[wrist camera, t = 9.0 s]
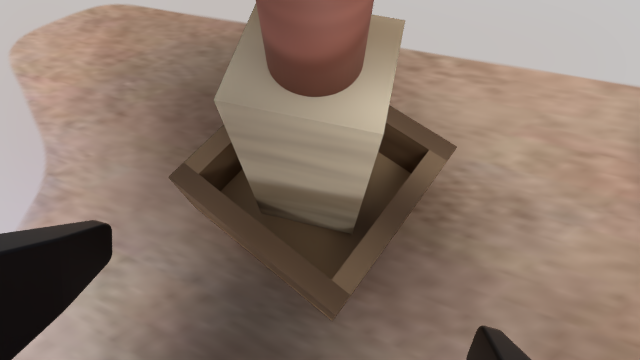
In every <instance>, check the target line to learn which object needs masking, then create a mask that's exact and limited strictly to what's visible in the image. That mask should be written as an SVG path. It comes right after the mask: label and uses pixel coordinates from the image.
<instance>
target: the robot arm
mask: <svg viewBox="0 0 640 360" xmlns="http://www.w3.org/2000/svg"><path fill="white" fill-rule="evenodd" d="M111 256H112V229H111V226H110V225H109V224H107V223H103V222H99V221H96V220H91V221H84V222H77V223H70V224H64V225H57V226H50V227H43V228H36V229H30V230H23V231H16V232H9V233H2V234H0V360H12V359H13V358H14V357H15V356H16V355H17V354H18V353H19V352H20V351H21V350H23V349H24V348H25V347H26V346H27V345H28V344H29V343H30V342H31V341H32V340H33V339H34V338H36V337H37V336H38V335H39V334H40V333H41V332H42V331H43V330H44V329H45V328H46V327H47V326H49V325H50V324H51V323H52V322H53V321H54V320H55V319H56V318H57V317H58V316H59V315H60V314H61V313H62V312H63V311H64V310H65V309H66V308H67V307H68V306H69V305H70V304H71V303H72V302H73V301H74V300H75V299H76V298H77V297H78V295H79V294H80V293H81V292H82V291H83V290H84V289H85V288H86V287H87V286H88V284H89V283H90V282H91V281H92V280H93V279H94V278H95V277H96V276H97V275H98V274H99V272H100V271H101V270H102V269H103V268H104V267H105V266H106V265H107V264H108V262H109V261H110V259H111ZM467 360H531V359H530V358H529V357H528V356H527V355H526V354H525V353H524V352H523V351H522V350H521V349H520V348H518V347H517V346H516V345H515V344H514V343H513V342H512V341H511V340H510V339H509V338H508V337H507V336H506V335H505V334H504V333H503V332H502V331H500V330H498V329H494V328H491V327H487V326H480V327H479V328H478V329H477V331H476V334H475V336H474V339H473V342H472V344H471V347H470V349H469V352H468V355H467Z"/></svg>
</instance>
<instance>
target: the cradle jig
mask: <svg viewBox="0 0 640 360" xmlns="http://www.w3.org/2000/svg"><path fill="white" fill-rule="evenodd" d="M456 148H457V147H456V146H455V145H453V144H451V143H450V142H448V141H447V140H445V139H443V138H442V137H440V136H438V135H437V134H435V133H434V132H432V131H430V130H429V129H427V128H425V127H424V126H422V125H420V124H419V123H417V122H416V121H414V120H412V119H411V118H409V117H407V116H406V115H404V114H403V113H401V112H399V111H398V110H396V109H394V108H393V107H391V106H389V108H388V114H387V119H386V124H385V129H384V135H383V138H382V141H381V144H380V147H379V150H378V153H377V157H376V160H375V163H374V166H373V169H372V172H371V176H370V179H369V182H368V185H367V188H366V191H365V195H364V198H363V201H362V204H361V207H360V210H359V213H358V217H357V220H356V223H355V226H354V229H353V232H352V234H349V233H345V232H340V231H336V230H332V229H327V228H323V227H319V226H314V225H310V224H305V223H301V222H297V221H292V220H288V219H284V218H279V217H275V216H271V215H266V214H262V213H261V211H260V208H259V206H258V204H257V201H256V199H255V197H254V194H253V192H252V190H251V187H250V185H249V182H248V180H247V178H246V175H245V173H244V171H243V168H242V166H241V164H240V161H239V159H238V156H237V154H236V152H235V149H234V147H233V145H232V142H231V140H230V138H229V135H228V133H227V130H226V128H225V126H224V125H223V126H222V127H221V128H220V129H219V130H218V131H217V132H216V133H215V134H214V135H212V136H211V137H210V138H209V139H208V140H207V141H206V142H205V143H204V144H203V145H202V146H201V147H200V148H199V149H198V150H197V151H195V152H194V153H193V154H192V155H191V156H190V157H189V158H188V159H187V160H186V161H185V162H184V163H183V164H182V165H181V166H180V167H178V168H177V169H176V170H175V171H174V172H173V173H172V174H171V175H170V176H169V178H170V180H171V181H172V182H173V183H174V184H175V185H176V186H177V187H178V189H179V190H180V191H181V192H182V193H183V194H184V195H185V196H186V198H187V199H188V200H189V201H190V202H191V203H192V204H193V205H194V206H195V207H196V208H197V209H198V210H199V211H201V212H202V213H203V214H204V215H205V216H207V217H208V218H209V219H210V220H211V221H213V222H214V223H215V224H216V225H217V226H219V227H220V228H221V229H222V230H223V231H225V232H226V233H227V234H228V235H229V236H231V237H232V238H233V239H234V240H235V241H237V242H238V243H239V244H240V245H241V246H243V247H244V248H245V249H246V250H247V251H249V252H250V253H251V254H252V255H253V256H255V257H256V258H257V259H258V260H259V261H261V262H262V263H263V264H264V265H265V266H267V267H268V268H269V269H270V270H271V271H273V272H274V273H275V274H276V275H277V276H279V277H280V278H281V279H282V280H283V281H285V282H286V283H287V284H288V285H290V286H291V287H292V288H293V289H294V290H296V291H297V292H298V293H299V294H300V295H302V296H303V297H304V298H305V299H306V300H308V301H309V302H310V303H311V304H312V305H314V306H315V307H316V308H317V309H318V310H320V311H321V312H322V313H323V314H324V315H326V316H327V317H328V318H329V319H330V320H332V321H333V320H334V318H335V317H336V315H337V314H338V313H339V311H340V310H341V308H342V307H343V306H344V304H345V303H346V301H347V300H348V299H349V297H350V296H351V294H352V293H353V292H354V290H355V289H356V288H357V286H358V285H359V283H360V282H361V281H362V279H363V278H364V276H365V275H366V274H367V272H368V271H369V269H370V268H371V267H372V265H373V264H374V262H375V261H376V260H377V258H378V257H379V255H380V254H381V253H382V251H383V250H384V249H385V247H386V246H387V244H388V243H389V242H390V240H391V239H392V237H393V236H394V235H395V233H396V232H397V230H398V229H399V228H400V226H401V225H402V223H403V222H404V221H405V219H406V218H407V216H408V215H409V214H410V212H411V211H412V209H413V208H414V207H415V205H416V204H417V203H418V201H419V200H420V198H421V197H422V196H423V194H424V193H425V191H426V190H427V189H428V187H429V186H430V184H431V183H432V182H433V180H434V179H435V177H436V176H437V175H438V173H439V172H440V170H441V169H442V168H443V166H444V165H445V163H446V162H447V160H448V159H449V158H450V156H451V155H452V153H453V152H454V151H455V149H456Z"/></svg>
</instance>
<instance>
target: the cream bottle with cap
mask: <svg viewBox="0 0 640 360" xmlns="http://www.w3.org/2000/svg"><path fill="white" fill-rule="evenodd" d="M373 2H374V0H256V4H255V7H254V9H253V11H252V14H251V16H250V19H249V20H248V23H247V25H246V27H245V29H244V32H243V34H242V36H241V39H240V41H239V43H238V45H237V48H236V50H235V52H234V55H233V57H232V59H231V61H230V64H229V66H228V68H227V70H226V73H225V75H224V77H223V80H222V82H221V84H220V86H219V89H218V91H217V93H216V96H215V98H214V102H215V104H216V107H217V109H218V112H219V114H220V116H221V119H222V121H223V123H224V126H225V128H226V130H227V133H228V135H229V138H230V140H231V142H232V145H233V147H234V149H235V152H236V154H237V156H238V159H239V161H240V164H241V166H242V168H243V171H244V173H245V175H246V178H247V180H248V182H249V185H250V187H251V190H252V192H253V194H254V197H255V199H256V201H257V204H258V206H259V208H260V211H261V213H262V214H266V215H271V216H275V217H279V218H284V219H288V220H292V221H297V222H301V223H305V224H310V225H314V226H319V227H323V228H327V229H332V230H336V231H340V232H345V233H349V234H352V232H353V229H354V226H355V223H356V220H357V217H358V213H359V210H360V207H361V204H362V201H363V198H364V195H365V191H366V188H367V185H368V182H369V179H370V176H371V172H372V169H373V166H374V163H375V160H376V157H377V153H378V150H379V147H380V144H381V141H382V138H383V135H384V129H385V124H386V119H387V114H388V108H389V103H390V98H391V92H392V87H393V82H394V77H395V71H396V66H397V61H398V55H399V50H400V45H401V39H402V34H403V29H404V24H405V20H399V19H394V18H388V17H382V16H377V15H371V14H372V8H373Z"/></svg>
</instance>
